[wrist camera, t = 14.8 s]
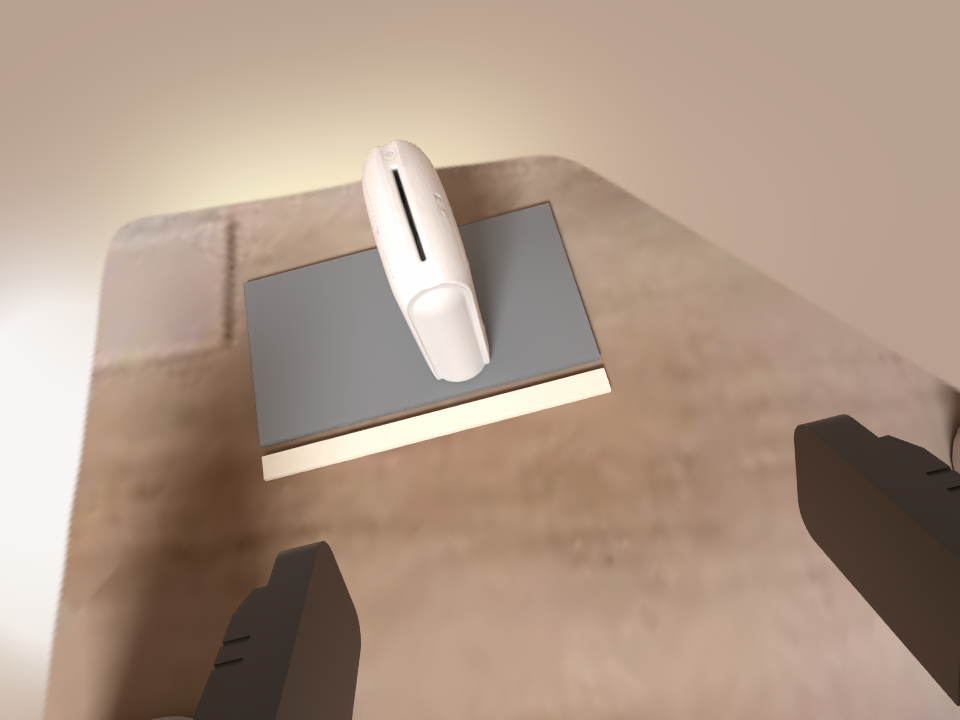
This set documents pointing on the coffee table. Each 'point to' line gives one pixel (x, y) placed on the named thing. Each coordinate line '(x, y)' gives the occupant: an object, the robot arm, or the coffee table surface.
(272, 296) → the mat
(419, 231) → the photo printer
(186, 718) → the water bottle
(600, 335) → the coffee table surface
